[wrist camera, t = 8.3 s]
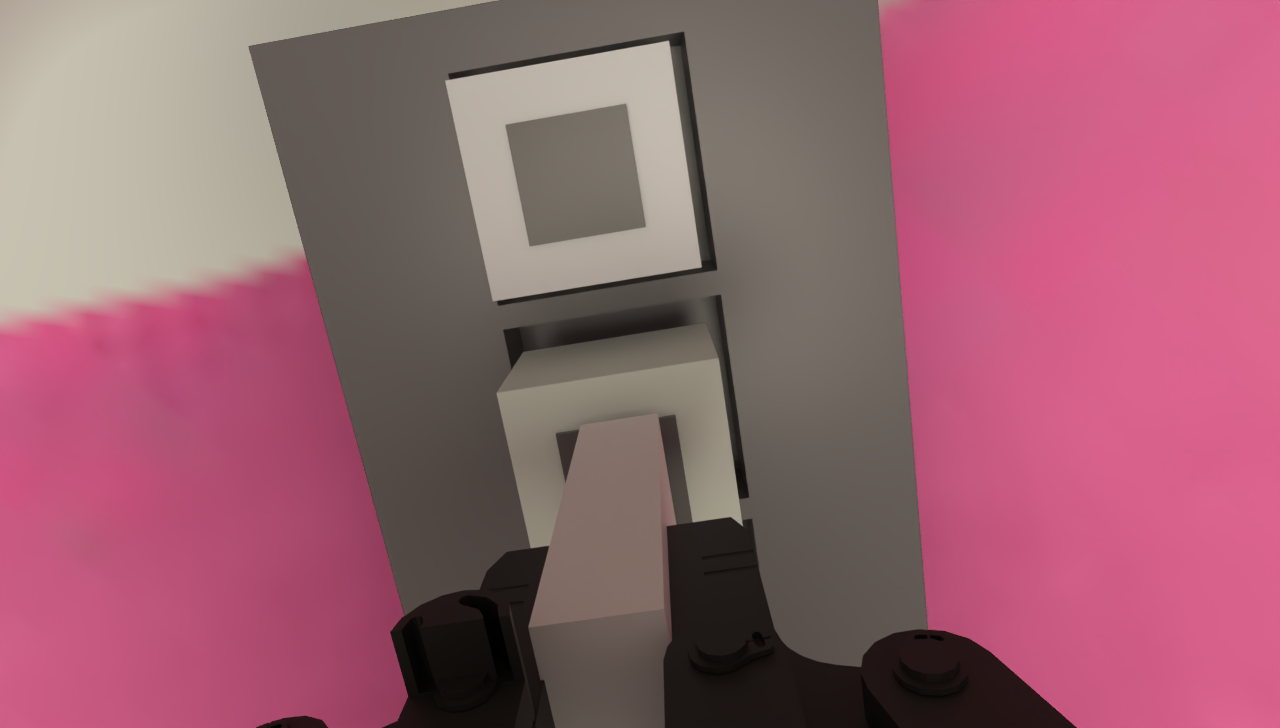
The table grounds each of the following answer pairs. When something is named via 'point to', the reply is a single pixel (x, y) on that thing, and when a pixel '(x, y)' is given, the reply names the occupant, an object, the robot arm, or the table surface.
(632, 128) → the key
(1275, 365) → the table surface
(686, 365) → the key
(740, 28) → the keypad
